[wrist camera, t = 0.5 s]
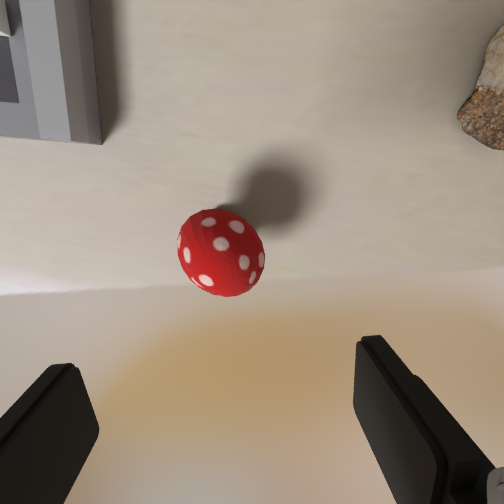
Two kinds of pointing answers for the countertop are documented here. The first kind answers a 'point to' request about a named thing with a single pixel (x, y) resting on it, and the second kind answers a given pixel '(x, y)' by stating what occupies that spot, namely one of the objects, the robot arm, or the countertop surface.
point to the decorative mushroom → (220, 252)
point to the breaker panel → (27, 109)
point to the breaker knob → (4, 20)
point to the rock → (487, 99)
